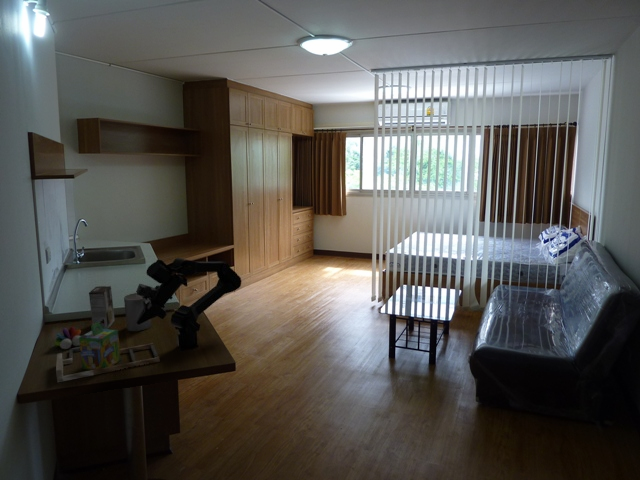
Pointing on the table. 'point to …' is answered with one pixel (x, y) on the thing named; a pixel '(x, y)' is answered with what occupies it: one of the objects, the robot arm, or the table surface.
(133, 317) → the pillar candle
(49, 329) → the table surface
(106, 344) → the chalk box
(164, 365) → the table surface
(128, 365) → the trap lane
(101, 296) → the coffee box
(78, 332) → the rainbow disc cluster
